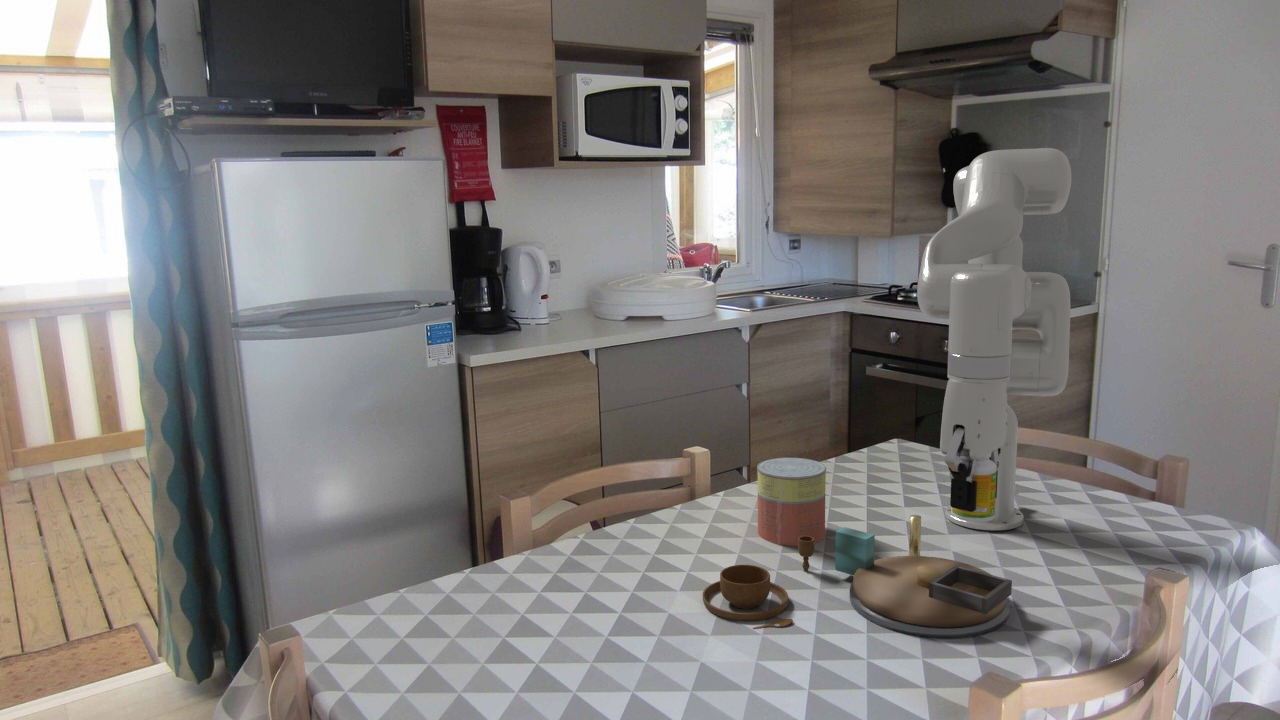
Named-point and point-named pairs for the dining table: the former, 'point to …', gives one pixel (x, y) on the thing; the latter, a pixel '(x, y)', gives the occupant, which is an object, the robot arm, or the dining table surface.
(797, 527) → the canned food
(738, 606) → the place setting
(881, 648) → the dining table surface
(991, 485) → the supplement bottle
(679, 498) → the dining table surface
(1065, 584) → the dining table surface
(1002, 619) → the flange base
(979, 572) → the turntable plate
